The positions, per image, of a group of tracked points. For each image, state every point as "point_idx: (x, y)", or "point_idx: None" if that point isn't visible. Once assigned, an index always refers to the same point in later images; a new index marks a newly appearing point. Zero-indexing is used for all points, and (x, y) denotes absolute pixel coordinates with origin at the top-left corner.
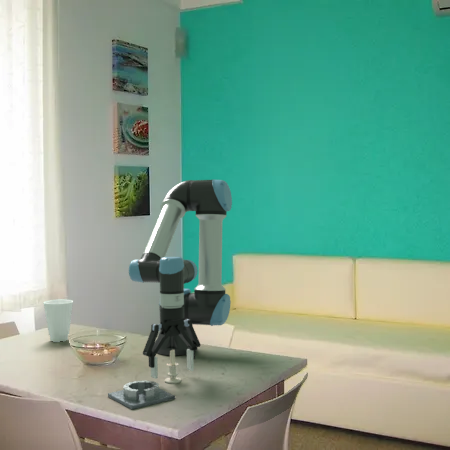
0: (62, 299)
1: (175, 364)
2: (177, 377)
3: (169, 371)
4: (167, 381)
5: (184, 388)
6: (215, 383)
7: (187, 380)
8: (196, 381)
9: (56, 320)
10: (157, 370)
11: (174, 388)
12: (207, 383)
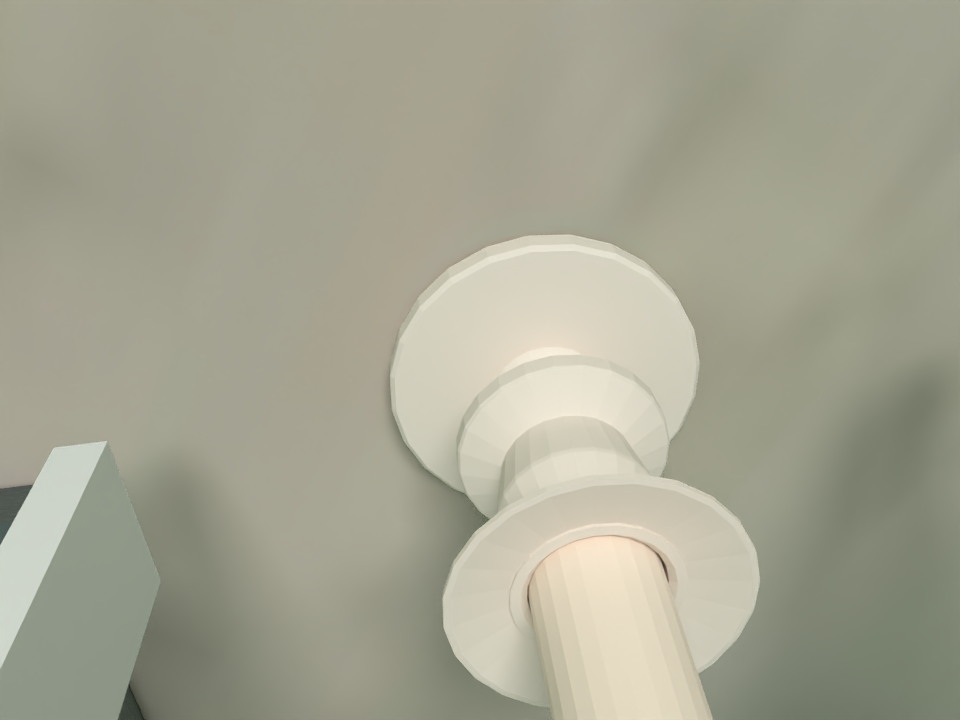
0: None
1: (673, 596)
2: (686, 326)
3: (503, 475)
4: (406, 441)
5: (503, 706)
6: (946, 705)
7: (761, 452)
8: (830, 548)
9: None
10: (118, 708)
11: (385, 660)
12: (874, 669)
